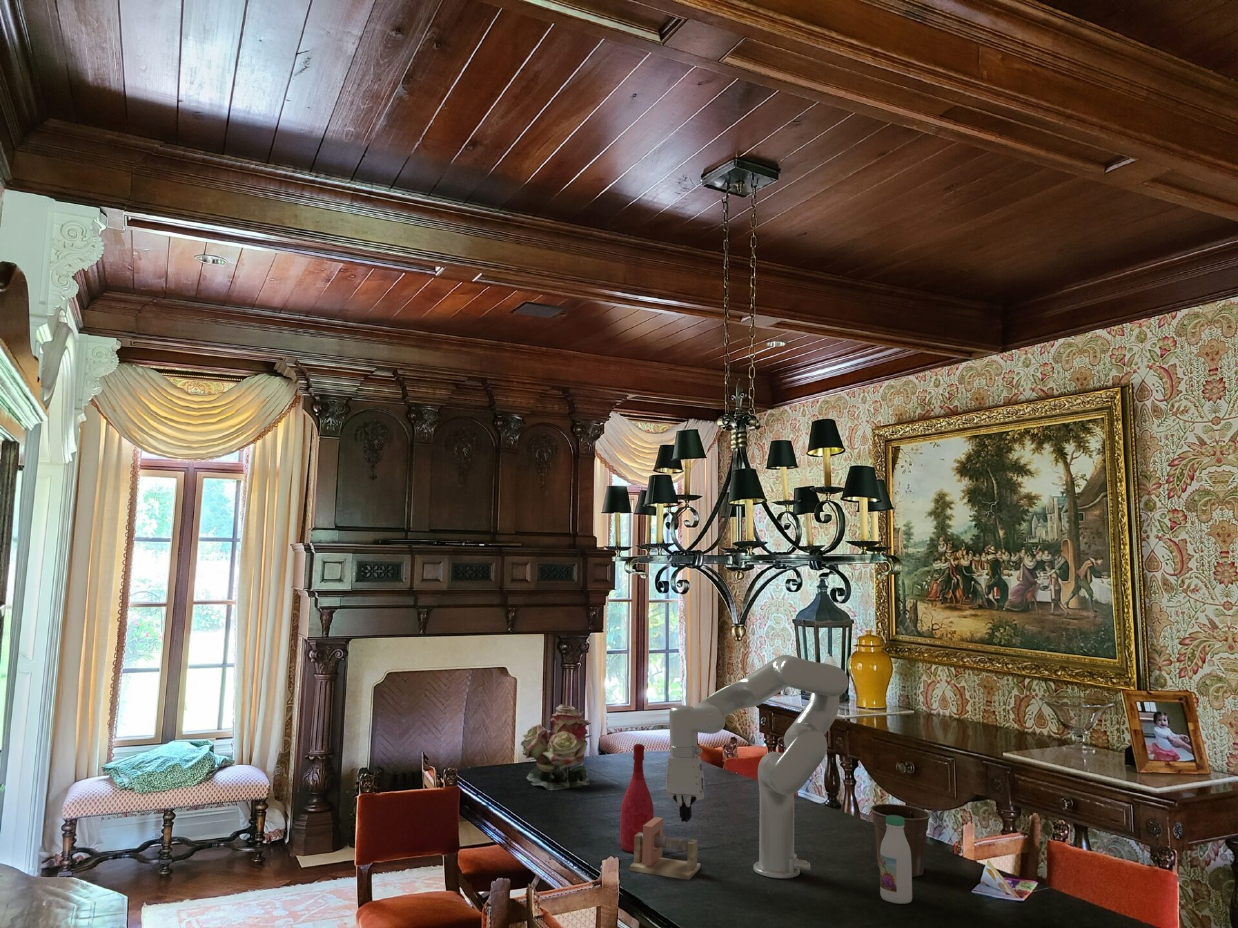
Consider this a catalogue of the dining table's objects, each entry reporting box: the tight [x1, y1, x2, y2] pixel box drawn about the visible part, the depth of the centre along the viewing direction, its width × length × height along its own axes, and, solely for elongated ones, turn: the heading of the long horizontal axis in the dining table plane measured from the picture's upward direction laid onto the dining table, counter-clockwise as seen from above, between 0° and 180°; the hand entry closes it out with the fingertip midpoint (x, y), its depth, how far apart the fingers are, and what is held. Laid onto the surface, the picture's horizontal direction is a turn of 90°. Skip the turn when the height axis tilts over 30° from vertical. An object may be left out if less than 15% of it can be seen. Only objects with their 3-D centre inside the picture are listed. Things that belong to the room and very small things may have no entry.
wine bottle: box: [619, 743, 655, 854], centre depth 256 cm, size 10×10×30 cm
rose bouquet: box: [520, 703, 593, 791], centre depth 339 cm, size 26×29×30 cm
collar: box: [642, 816, 664, 865], centre depth 238 cm, size 2×10×10 cm, turn 159°
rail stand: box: [628, 832, 701, 881], centre depth 237 cm, size 17×11×9 cm, turn 69°
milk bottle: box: [879, 815, 913, 905], centre depth 220 cm, size 8×8×20 cm
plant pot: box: [870, 803, 932, 878], centre depth 242 cm, size 16×16×16 cm
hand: (685, 820), depth 237 cm, fingers closed
